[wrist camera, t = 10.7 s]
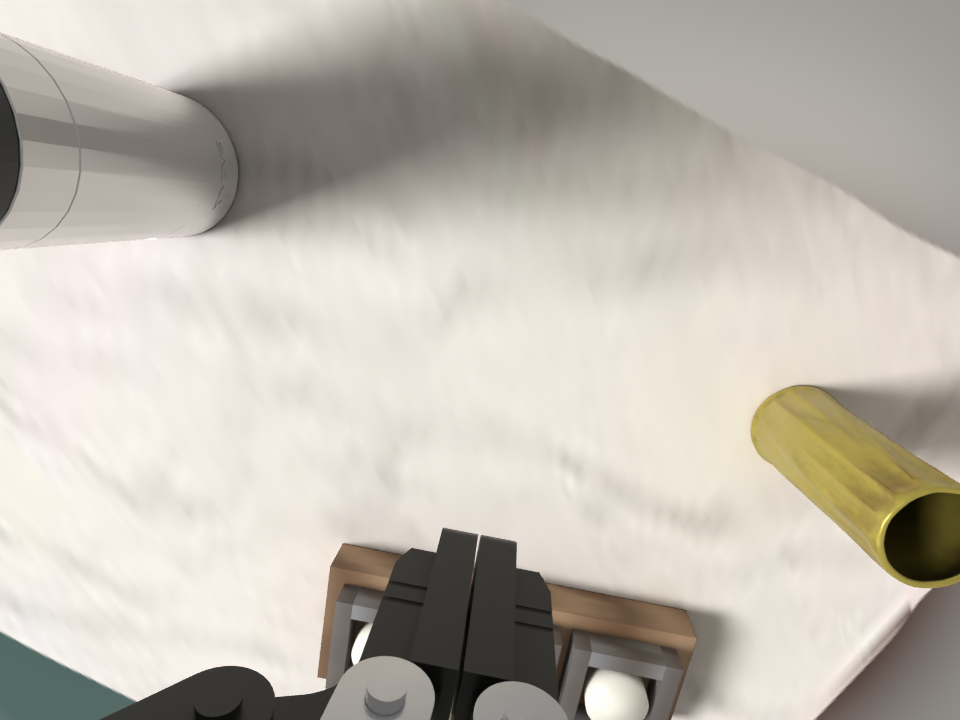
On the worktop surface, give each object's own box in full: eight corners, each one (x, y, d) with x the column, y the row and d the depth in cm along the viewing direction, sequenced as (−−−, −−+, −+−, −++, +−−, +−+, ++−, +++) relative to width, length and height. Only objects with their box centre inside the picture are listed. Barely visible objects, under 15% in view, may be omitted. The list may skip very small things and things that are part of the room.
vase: (795, 367, 39) (943, 452, 25) (861, 421, 39) (1041, 533, 26) (731, 432, 40) (838, 547, 27) (795, 483, 41) (932, 621, 27)
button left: (355, 656, 44) (348, 676, 42) (362, 607, 42) (355, 626, 41) (412, 667, 44) (407, 688, 42) (420, 619, 42) (415, 638, 40)
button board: (329, 648, 48) (308, 698, 43) (342, 543, 45) (320, 583, 40) (653, 713, 47) (668, 771, 42) (685, 610, 44) (705, 659, 39)
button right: (577, 700, 43) (579, 723, 41) (589, 652, 42) (592, 674, 40) (635, 712, 43) (640, 735, 41) (649, 664, 42) (655, 686, 40)
